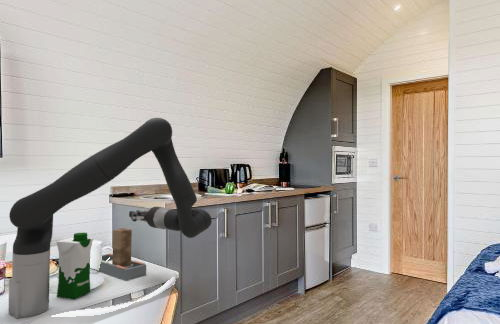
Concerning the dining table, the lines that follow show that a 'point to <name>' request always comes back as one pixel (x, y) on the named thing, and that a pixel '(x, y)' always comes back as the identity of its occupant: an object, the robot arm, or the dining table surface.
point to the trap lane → (122, 269)
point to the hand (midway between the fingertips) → (133, 213)
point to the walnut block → (122, 247)
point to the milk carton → (74, 266)
